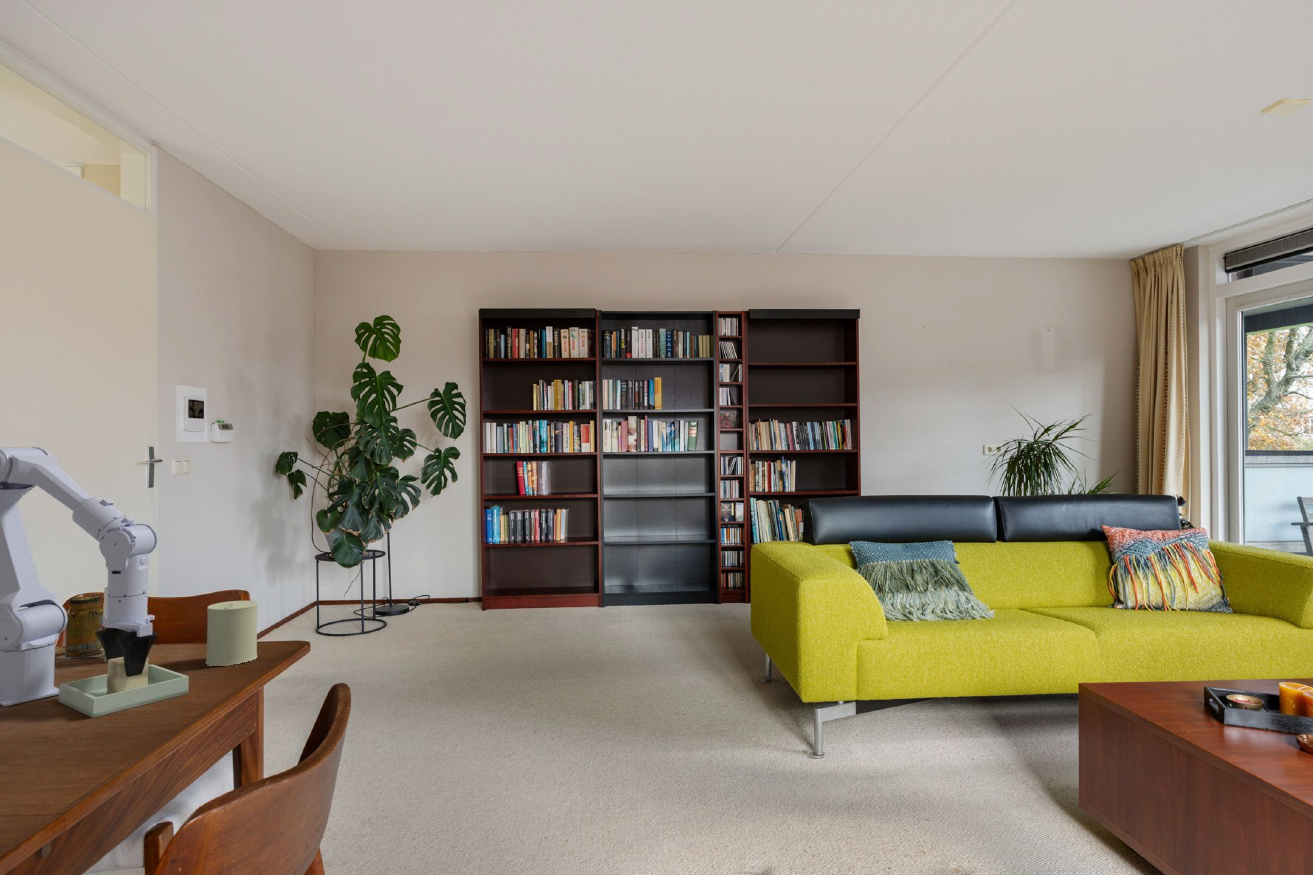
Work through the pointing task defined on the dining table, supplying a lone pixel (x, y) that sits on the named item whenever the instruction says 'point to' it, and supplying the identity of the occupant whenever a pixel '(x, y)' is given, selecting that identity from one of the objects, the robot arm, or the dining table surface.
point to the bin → (96, 702)
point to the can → (231, 633)
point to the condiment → (83, 628)
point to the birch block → (124, 677)
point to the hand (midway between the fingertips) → (125, 672)
